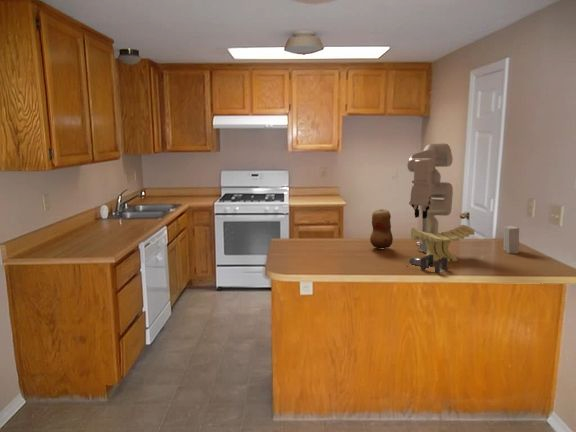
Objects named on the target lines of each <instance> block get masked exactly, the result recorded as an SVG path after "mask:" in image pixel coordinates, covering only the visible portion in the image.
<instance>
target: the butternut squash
mask: <svg viewBox="0 0 576 432" xmlns="http://www.w3.org/2000/svg"><path fill="white" fill-rule="evenodd" d="M391 218H392V216H391V212H390V211H389V209H384V208H379V209H376V210H374V211H373V212H372V215H371V226H372V231H371V235H370V238H369V239H370V240H369V241H370V243H371V245H372V246H373V247H374V248H376V249H378V248H385V249H386V248H390V246H392V245H393V241H394V239H393V238H394V237H393V233H392V231H391V229H392V225H391V224H392V223H391Z"/></svg>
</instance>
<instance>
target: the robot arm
mask: <svg viewBox="0 0 576 432" xmlns="http://www.w3.org/2000/svg"><path fill="white" fill-rule="evenodd" d="M453 159H454V158H453V154H452V149H451V147H450V145H449V144H448V143H444V142H443V143H428V144H427V145H426V146H425V147H424V148H423V150H422V151H419V152H416V153H413V154H412V155H410V157H409V159H408V161H407V165H406V166H407V169H408V171H409V172H410V173H413V180H412V181H411V183H412V184H413V185H412V187H411V191H410V201H409V202H408V204H409V205H410V206H411V207H412V208H413V210H414V218H416V219H417V218H419V217H420V215H421V231H423V232H425V233H432V234H433V233H439V221H438V219H437V218H436V216H440V217H441V216H443V217H445V216H450V215H451V213H452V208H453V194H454V193H453V192H454V191H453V190H454V189H453V185H452V184H451V183H450V182H448V181H447V182H442V181H441V173H440V171H438V169H437V168H438V167H439V168H441V167H442V168H444V167H445V168H447V167H451V166H452V163H453ZM419 206H420V209H419ZM420 241H421V242H420ZM420 241H416V244H415V245H416V246H417V247H419V248H418V251H419V252H420V251H421V252H420V253H423V252H424V254H427V246H426V243H425V240H423V239H422V240H420Z"/></svg>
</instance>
